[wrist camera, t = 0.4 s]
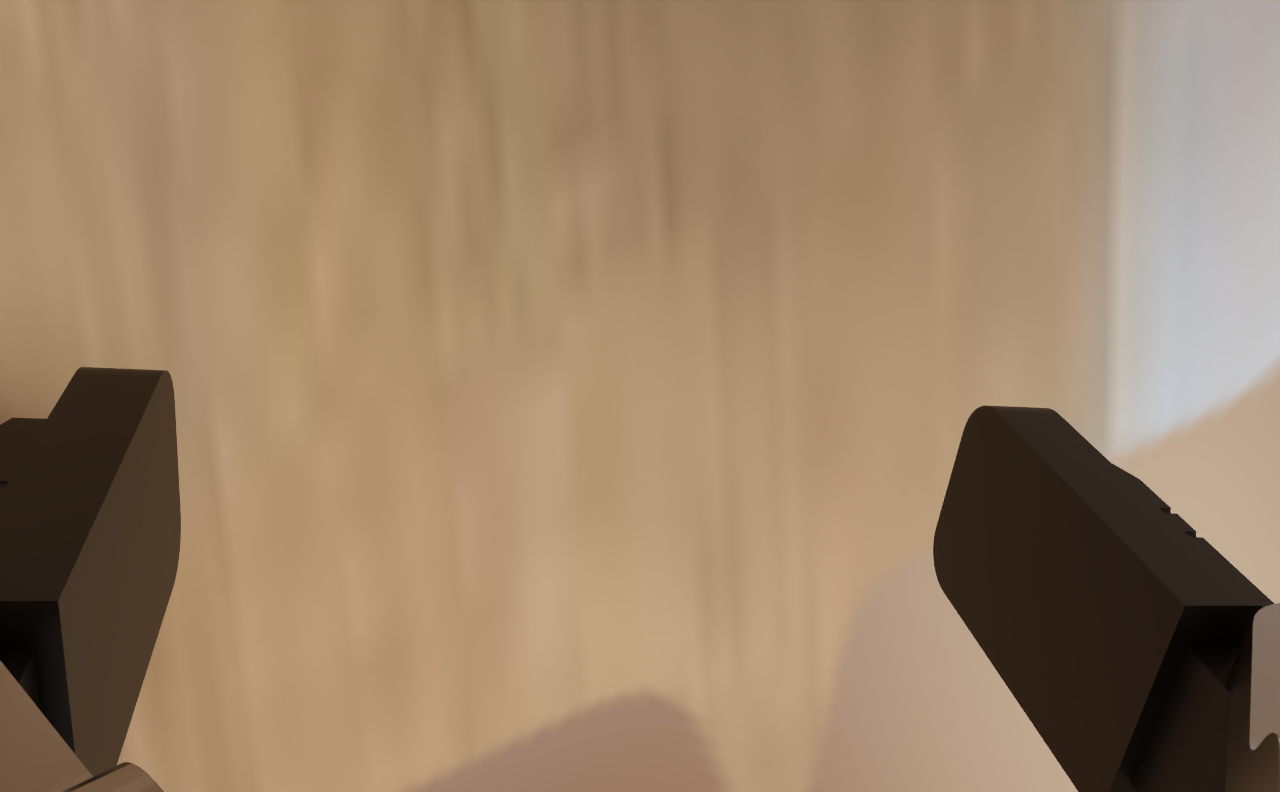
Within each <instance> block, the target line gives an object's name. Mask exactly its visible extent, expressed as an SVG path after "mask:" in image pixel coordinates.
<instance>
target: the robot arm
mask: <svg viewBox="0 0 1280 792" xmlns="http://www.w3.org/2000/svg"><path fill="white" fill-rule="evenodd" d="M1170 509H1171V508H1170V507H1169V506H1168V505H1167V504H1166V503H1165V502H1163V501H1162V500H1161V499H1160V498H1159V497H1158V496H1157V495H1156V494H1155V493H1154V492H1153V491H1151V489H1149V488H1148V487H1147V486H1146V485H1145V484H1144V483H1143V482H1142V481H1141V480H1140V479H1138V478H1136V477H1134V476H1133V475H1131V474H1129V473H1127V472H1126V471H1124V470H1122V469H1120V468H1119V467H1117V466H1115V465H1114V464H1112V463H1110V462H1109V461H1108V460H1107V459H1106V458H1105V457H1104V456H1103V455H1102V454H1101V453H1100V452H1099V451H1098V450H1096V449H1095V448H1094V447H1093V446H1092V445H1091V444H1090V443H1089V442H1088V441H1087V440H1086V439H1085V438H1084V437H1083V436H1082V435H1080V434H1079V433H1078V432H1077V431H1076V430H1075V429H1074V428H1073V427H1072V426H1071V425H1070V424H1069V423H1068V422H1067V421H1066V420H1064V419H1063V418H1062V417H1061V416H1060V415H1059V414H1058V413H1057V412H1055V411H1054V410H1052V409H1049V408H1029V407H1004V406H981V407H979V408H977V409H976V410H975V411H974V412H973V413H972V414H971V416H970V417H969V419H968V421H967V423H966V425H965V428H964V431H963V435H962V438H961V442H960V445H959V449H958V452H957V456H956V460H955V463H954V467H953V470H952V474H951V477H950V481H949V484H948V488H947V491H946V495H945V498H944V502H943V506H942V509H941V513H940V516H939V520H938V523H937V527H936V531H935V536H934V546H933V555H934V566H935V570H936V575H937V579H938V581H939V584H940V586H941V588H942V590H943V591H944V593H945V595H946V596H947V598H948V599H949V601H950V602H951V603H952V605H953V606H954V608H955V609H956V611H957V612H958V614H959V615H960V617H961V618H962V620H963V621H964V623H965V624H966V626H967V627H968V629H969V630H970V631H971V633H972V634H973V636H974V638H975V639H976V640H977V642H978V643H979V645H980V646H981V648H982V649H983V651H984V652H985V654H986V655H987V657H988V658H989V660H990V661H991V663H992V664H993V666H994V667H995V669H996V670H997V672H998V673H999V674H1000V676H1001V678H1002V679H1003V680H1004V682H1005V683H1006V685H1007V686H1008V688H1009V689H1010V691H1011V692H1012V694H1013V695H1014V697H1015V698H1016V700H1017V701H1018V703H1019V704H1020V706H1021V707H1022V709H1023V710H1024V712H1025V713H1026V715H1027V716H1028V718H1029V719H1030V721H1031V722H1032V723H1033V725H1034V726H1035V728H1036V729H1037V731H1038V732H1039V734H1040V735H1041V737H1042V738H1043V740H1044V741H1045V743H1046V744H1047V746H1048V747H1049V749H1050V750H1051V751H1052V753H1053V754H1054V756H1055V757H1056V759H1057V761H1058V762H1059V763H1060V765H1061V766H1062V768H1063V769H1064V771H1065V772H1066V774H1067V775H1068V777H1069V778H1070V779H1071V781H1072V783H1073V784H1074V786H1075V787H1076V789H1077V790H1078V792H1280V603H1279V604H1274V603H1273V602H1272V601H1271V600H1270V599H1268V598H1267V597H1266V596H1265V595H1264V594H1263V593H1262V592H1261V591H1260V590H1259V589H1258V588H1257V587H1256V586H1254V585H1253V584H1252V583H1251V582H1250V581H1249V580H1248V579H1247V578H1246V577H1245V576H1244V575H1243V574H1241V573H1240V572H1239V571H1238V570H1237V569H1236V568H1235V567H1234V566H1233V565H1232V564H1230V563H1229V561H1227V560H1226V559H1225V558H1224V557H1223V556H1222V555H1221V554H1220V553H1219V552H1218V551H1217V550H1216V549H1214V548H1213V547H1212V546H1211V545H1210V544H1209V543H1208V542H1207V541H1206V540H1205V539H1204V538H1196V531H1195V530H1194V529H1193V528H1192V527H1191V526H1189V525H1188V524H1187V523H1186V522H1185V521H1184V520H1183V519H1182V518H1181V517H1180V516H1179V515H1178V514H1171V512H1170ZM180 535H181V514H180V495H179V476H178V457H177V438H176V419H175V400H174V390H173V383H172V379H171V376H170V374H169V372H168V371H163V370H139V369H114V368H90V367H81V368H79V369H78V370H77V371H76V373H75V374H74V376H73V377H72V379H71V381H70V382H69V384H68V386H67V387H66V389H65V391H64V392H63V394H62V395H61V397H60V399H59V400H58V402H57V404H56V405H55V407H54V408H53V410H52V412H51V413H50V415H49V417H48V418H47V419H31V418H11V419H10V420H8V421H6V422H5V423H3V424H1V425H0V792H164V791H163V790H162V789H161V788H160V787H159V785H158V784H157V783H156V782H155V781H154V780H153V779H152V778H151V777H150V776H149V774H148V773H146V772H145V771H144V770H143V769H141V768H140V767H138V766H137V765H135V764H133V763H127V762H125V763H122V764H119V765H117V762H118V759H119V756H120V753H121V750H122V747H123V743H124V740H125V737H126V734H127V731H128V728H129V725H130V721H131V718H132V715H133V712H134V709H135V706H136V702H137V699H138V696H139V693H140V690H141V687H142V684H143V680H144V677H145V674H146V671H147V668H148V665H149V661H150V658H151V655H152V652H153V649H154V646H155V643H156V639H157V636H158V633H159V630H160V627H161V624H162V620H163V617H164V614H165V611H166V608H167V605H168V602H169V598H170V595H171V592H172V589H173V586H174V582H175V578H176V573H177V567H178V560H179V551H180Z"/></svg>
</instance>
